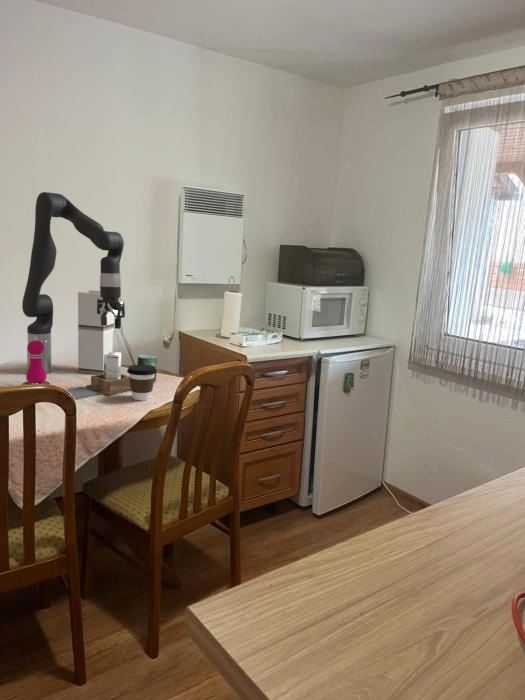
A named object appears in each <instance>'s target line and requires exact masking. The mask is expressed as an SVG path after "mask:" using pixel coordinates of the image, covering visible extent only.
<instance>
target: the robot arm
mask: <svg viewBox="0 0 525 700" xmlns="http://www.w3.org/2000/svg"><path fill="white" fill-rule="evenodd" d="M34 214H35V215H34V219H35V220H34V233H33V241H32V248H31V254H30V261H29V262H30V263H29V271H28V277H27V282H26V285H25V289H24V293H23V298H22V302H21V303H22V305H21V308H22V312H23V314H24V316H26V317H27V318H35V320H34V321H33V322H31V323H30V324H28V325H27V329H26V330H27V345H28V344H29V343H30V342H31V341H33V338H34V337H37V338H38V341H40V342H42V343H43V345H44V351H43V352H42V353H43V357H42V365H43V368H44V370H45V372H46V375H48V374H51V373H52V370H53V369H52V367H53V366H52V365H53V364H52V328H53V325H54V323H53V322H54V321H53V320H54V301H53V300H52V297H50V295H48V294H45V293H43V294H42V293H41V290H42V287H43V285H44V283H45V282H46V280H47V279H48V278H49V276H50V275H51V274H52V272H53V270H54V269H55V265H56V260H57V247H56V244H55V241H54V239H53V236H52V234H51V222H52V221H51V220H52V218H62V219H64V220H66V221H69V222H71V223H72V225H73V227H74V229H75V230H76V231H77V232H78V233H80V234H81V235H82V236H84V237H85V238H87V239H89V240H90V242H92V244H93V245H94V246H95V247H96V248H97V249H100V250H102V251H105V252H106V251H107V254H106V256H104V257H102V258H101V259H100V263H99V264H100V276H99V291H100V297H102V298H103V299H97V314H100V316H101V325H102V326H106V325H107V314H108V312H111V313H112V314H113V315H114V330H115V329H117V330H119V329H121V328H122V327H121V326H122V319H123V318H125V317H126V310H125V308H126V307H125V302H124V301H120V300H119V299H120V298H121V292H122V291H121V287H122V285H121V283H122V282H121V281H122V280H121V271H120V270H121V267H120V265H121V264H120V262H121V258H122V255H123V252H124V251H123V250H124V246H125V242H124V239H123V236H122V235H121V233H119V232H118V231H108V230H107V231H106V230H105V229H104V227H103V225H102V224H101V223H99V222H97V221H96V220H95V219H93V218H92V217H90V216H88V215H87V214H85V213H84V212H83V211H81V210H80V209H79V208H78V207H76V206H75V204H73V202H71V201H70V200H69V199H68V198H67V197H65V196H64V195H63V194H61V193H57V192H56V193H55V192H50V191H49V192H48V191H42V192H40V193H39V194H38V195H37V198H36V200H35V213H34ZM100 308H101V311H100ZM104 312H105V313H104ZM26 358H27V362H26V365H27V366H26V367H27V370H28V369H29V367H30V358H29V351H28V350H27V349H26ZM50 372H51V373H50ZM47 373H48V374H47Z"/></svg>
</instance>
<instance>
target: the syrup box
mask: <svg viewBox="0 0 525 700" xmlns="http://www.w3.org/2000/svg"><path fill="white" fill-rule="evenodd" d="M121 374H122V352H118V351H113V352H107V353H106V354H105V355H104V379H106V380H109V381H113V380H118V379H121Z"/></svg>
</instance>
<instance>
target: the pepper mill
mask: <svg viewBox="0 0 525 700" xmlns="http://www.w3.org/2000/svg"><path fill="white" fill-rule="evenodd" d="M26 346H27V347H26V351H27V350H28V351H29V358H30V367H29V369H27V372H26V375H25V378H26V379H25V380H26V381H27V382H28V383H45V384H46V382H45V380H47V374H46V372H45V370H44V368H43V365H42V357H43V353H42V352H43V351H44V345H43V343H42V342H40V341H38V338H37V337H34V338H33V341H31V342H30V343H29V344H28V343H27V345H26Z"/></svg>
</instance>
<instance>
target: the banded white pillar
mask: <svg viewBox="0 0 525 700" xmlns="http://www.w3.org/2000/svg"><path fill="white" fill-rule="evenodd" d="M97 299H103V298H102V297H100V290H93V289H92V290H91V289H89V290H88V292H85V291H82V292H81V291H78V292H77V318H78V319H77V340H78V341H77V342H78V343H77V348H78V349H77V351H78V352H77V356H78V357H77V360H78V362H77V363H78V364H77V365H78V367H77V368H78V369H77V370H78V372H82V373H81V374H88V373H91V374H92V375H98V374H104V355H105V354H106V353H107V352H114V351H113V349H114V348H113V346H114V344H113V343H114V342H113V341H114V339H113V338H114V336H113V332H114V331H115V317H114V315H113V314H112V313H111V312H108V314H107V325H106V326H102V325H101V316H100V314H97ZM100 311H101V308H100ZM104 313H105V312H104ZM91 374H90V375H91Z"/></svg>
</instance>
